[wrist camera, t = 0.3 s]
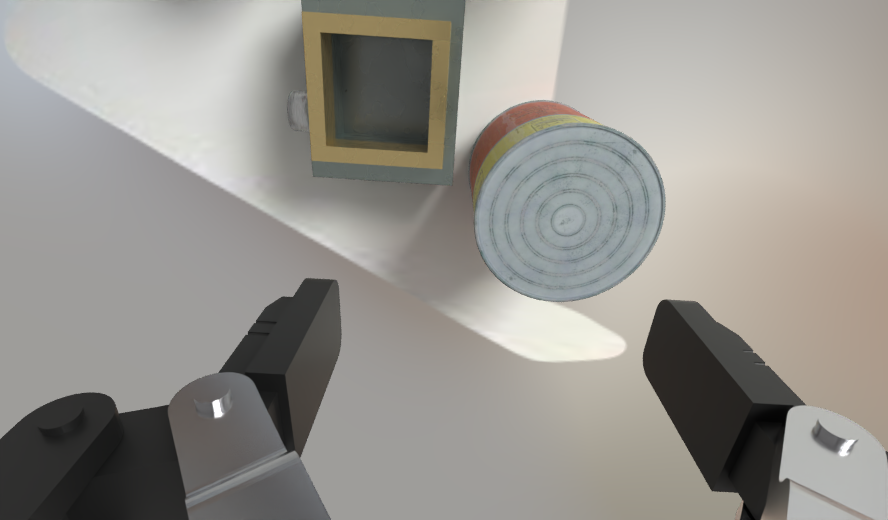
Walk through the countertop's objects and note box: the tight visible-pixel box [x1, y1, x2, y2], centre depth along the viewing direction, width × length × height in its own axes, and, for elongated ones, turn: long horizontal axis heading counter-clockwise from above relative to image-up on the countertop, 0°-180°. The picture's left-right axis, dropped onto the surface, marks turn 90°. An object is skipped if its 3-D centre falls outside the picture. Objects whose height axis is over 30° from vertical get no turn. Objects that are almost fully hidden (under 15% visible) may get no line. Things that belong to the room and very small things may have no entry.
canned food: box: [469, 100, 665, 302], centre depth 32 cm, size 11×11×12 cm
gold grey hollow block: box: [287, 0, 465, 186], centre depth 31 cm, size 12×12×8 cm
